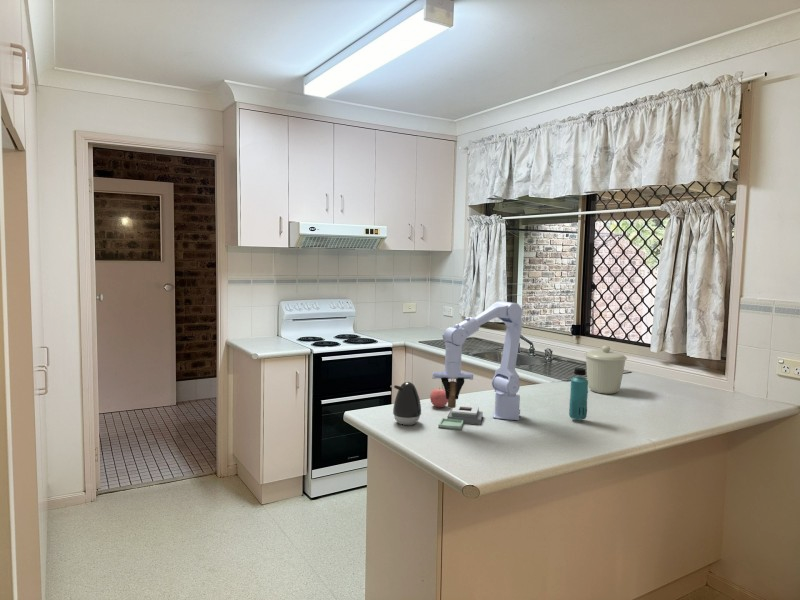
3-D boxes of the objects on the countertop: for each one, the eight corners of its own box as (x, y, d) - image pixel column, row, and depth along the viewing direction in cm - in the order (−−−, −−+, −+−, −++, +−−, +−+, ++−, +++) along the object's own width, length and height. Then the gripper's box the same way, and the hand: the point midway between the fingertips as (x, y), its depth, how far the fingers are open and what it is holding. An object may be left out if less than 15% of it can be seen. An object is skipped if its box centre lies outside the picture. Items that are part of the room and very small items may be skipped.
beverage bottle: (577, 424, 206) (580, 371, 204) (564, 419, 212) (567, 367, 210) (590, 422, 209) (593, 369, 207) (577, 417, 215) (580, 366, 213)
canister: (628, 390, 258) (631, 345, 256) (620, 398, 243) (623, 351, 241) (588, 384, 268) (590, 340, 266) (578, 392, 253) (580, 346, 251)
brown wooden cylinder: (457, 406, 201) (457, 382, 200) (452, 408, 199) (453, 383, 198) (450, 405, 203) (451, 380, 202) (446, 406, 201) (447, 382, 200)
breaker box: (482, 416, 213) (482, 406, 212) (480, 424, 203) (480, 414, 203) (451, 413, 216) (451, 403, 215) (447, 421, 206) (447, 411, 206)
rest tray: (463, 423, 205) (463, 420, 204) (460, 430, 197) (460, 426, 197) (441, 421, 206) (441, 418, 206) (438, 427, 199) (438, 424, 198)
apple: (447, 410, 220) (447, 390, 220) (428, 408, 222) (429, 389, 221) (449, 405, 228) (449, 385, 227) (431, 403, 229) (431, 384, 228)
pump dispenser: (388, 420, 206) (388, 379, 204) (413, 417, 210) (414, 377, 209) (398, 428, 197) (399, 386, 195) (425, 425, 201) (426, 384, 199)
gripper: (472, 359, 203) (470, 396, 205) (432, 358, 203) (431, 395, 205) (474, 363, 196) (473, 401, 198) (433, 362, 196) (432, 400, 198)
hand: (451, 398), depth 201 cm, fingers closed on brown wooden cylinder, 3 cm apart
